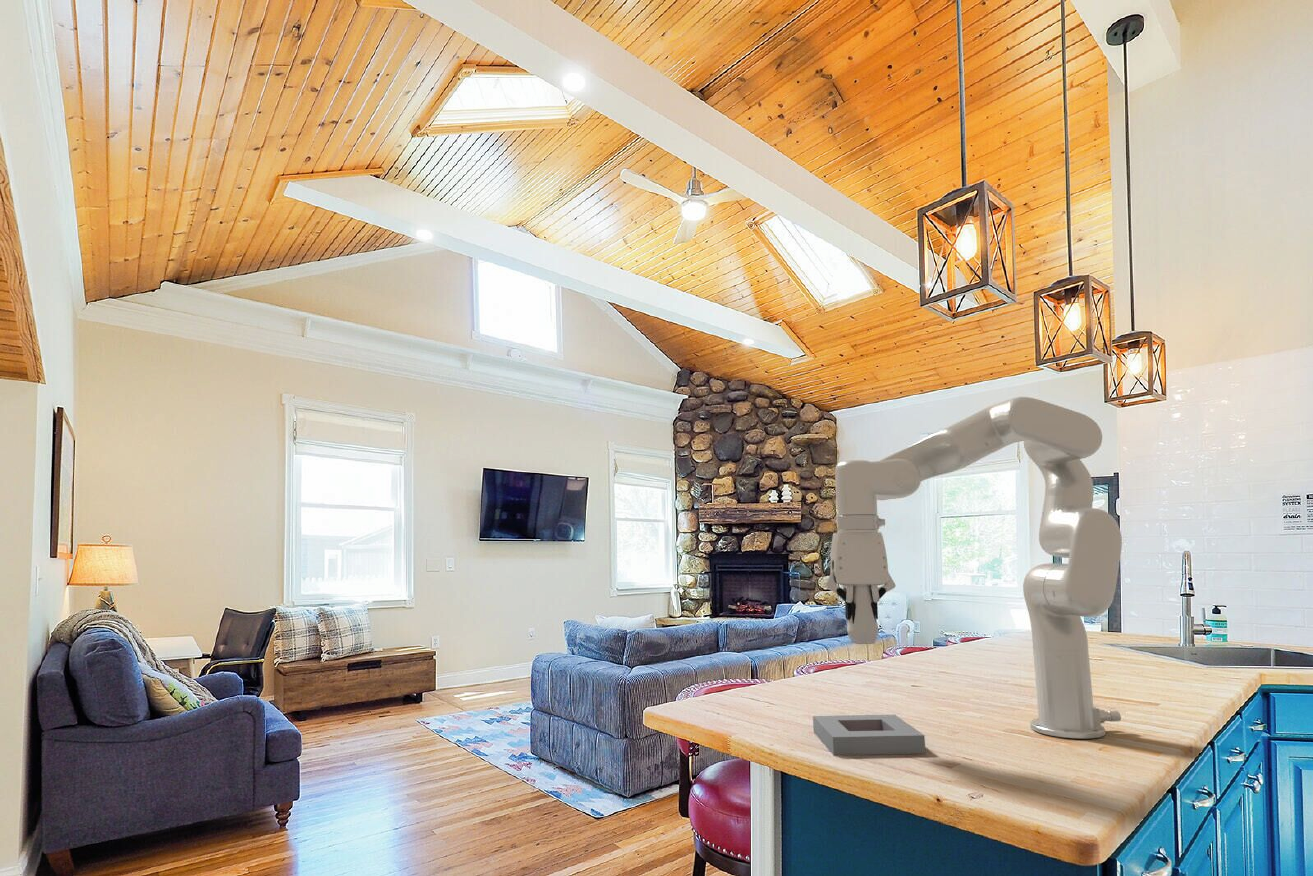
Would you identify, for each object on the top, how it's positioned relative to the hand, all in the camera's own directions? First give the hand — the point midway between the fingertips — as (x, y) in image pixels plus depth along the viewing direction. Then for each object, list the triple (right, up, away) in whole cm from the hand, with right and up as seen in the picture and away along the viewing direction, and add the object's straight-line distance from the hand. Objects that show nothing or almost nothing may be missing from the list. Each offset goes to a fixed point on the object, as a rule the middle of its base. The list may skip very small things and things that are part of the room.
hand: (861, 622), depth 142 cm
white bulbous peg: (0, -4, -1) cm, 4 cm away
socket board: (0, -21, -3) cm, 21 cm away
